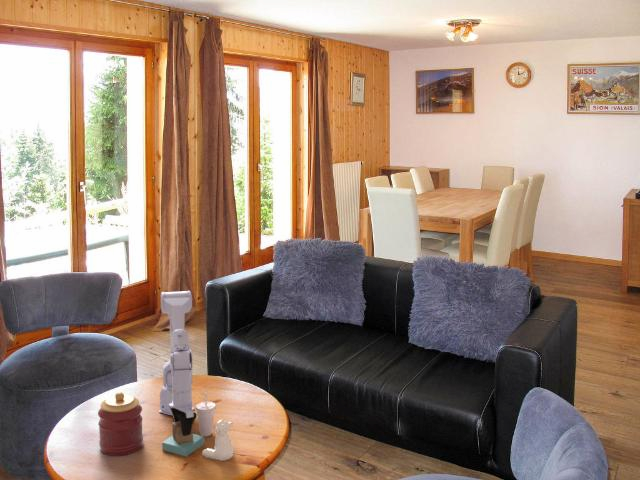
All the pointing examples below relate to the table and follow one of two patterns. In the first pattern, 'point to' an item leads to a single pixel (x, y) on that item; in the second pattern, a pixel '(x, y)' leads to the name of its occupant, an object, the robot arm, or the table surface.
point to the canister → (120, 425)
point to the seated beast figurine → (221, 443)
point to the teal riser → (183, 445)
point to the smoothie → (205, 416)
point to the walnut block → (179, 436)
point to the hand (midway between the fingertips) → (182, 430)
